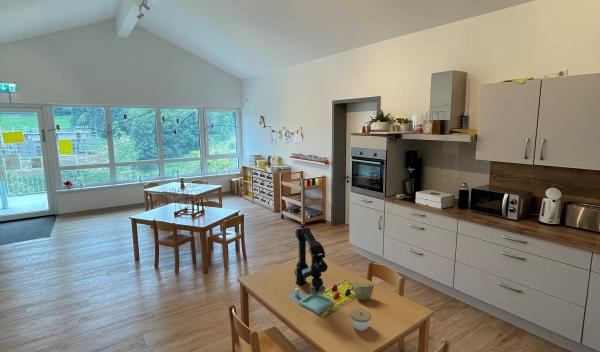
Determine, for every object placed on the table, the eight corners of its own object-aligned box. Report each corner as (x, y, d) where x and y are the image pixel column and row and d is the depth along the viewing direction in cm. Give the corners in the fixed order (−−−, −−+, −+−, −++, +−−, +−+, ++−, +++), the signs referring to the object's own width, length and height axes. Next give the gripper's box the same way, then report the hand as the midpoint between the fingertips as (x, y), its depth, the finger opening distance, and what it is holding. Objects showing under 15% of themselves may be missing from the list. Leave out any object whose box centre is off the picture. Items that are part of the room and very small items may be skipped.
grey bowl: (375, 303, 203) (376, 286, 212) (370, 292, 198) (371, 276, 207) (352, 304, 210) (354, 288, 218) (346, 294, 204) (348, 278, 213)
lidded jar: (348, 321, 185) (348, 306, 183) (367, 320, 186) (368, 305, 184) (353, 334, 174) (353, 318, 173) (373, 333, 175) (373, 317, 174)
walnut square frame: (309, 287, 204) (309, 281, 203) (324, 287, 204) (324, 281, 204) (310, 294, 197) (310, 287, 196) (325, 293, 197) (325, 287, 197)
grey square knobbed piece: (296, 291, 217) (296, 283, 216) (308, 297, 210) (308, 288, 209) (286, 297, 210) (285, 289, 209) (297, 303, 203) (297, 295, 202)
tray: (314, 295, 213) (314, 291, 212) (333, 303, 203) (333, 300, 202) (298, 304, 202) (298, 301, 201) (317, 314, 192) (318, 310, 191)
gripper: (301, 258, 206) (302, 281, 209) (303, 272, 188) (303, 297, 191) (319, 257, 207) (319, 281, 210) (323, 272, 188) (323, 297, 191)
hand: (316, 288), depth 200 cm, fingers closed on walnut square frame, 7 cm apart
